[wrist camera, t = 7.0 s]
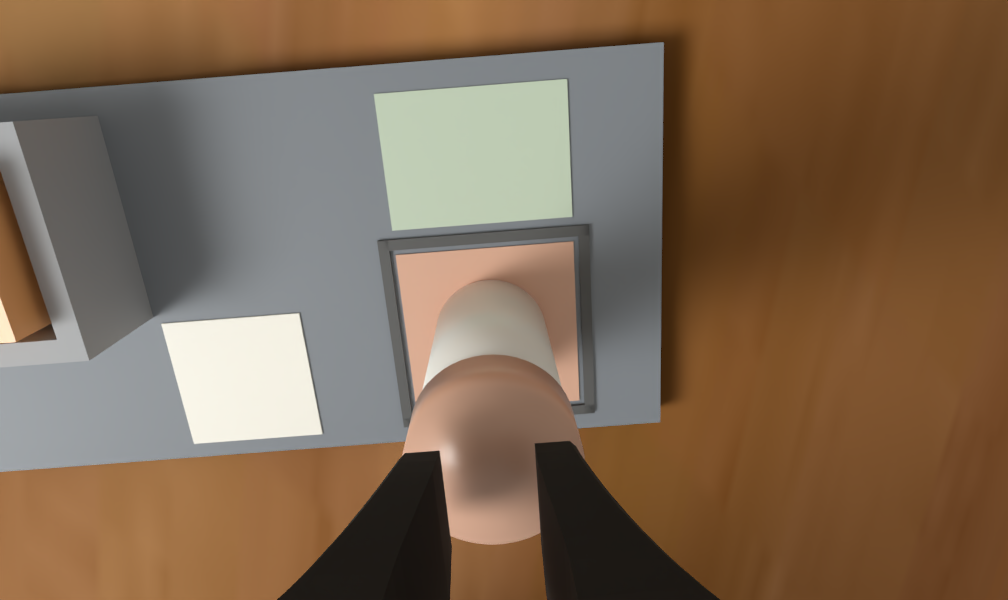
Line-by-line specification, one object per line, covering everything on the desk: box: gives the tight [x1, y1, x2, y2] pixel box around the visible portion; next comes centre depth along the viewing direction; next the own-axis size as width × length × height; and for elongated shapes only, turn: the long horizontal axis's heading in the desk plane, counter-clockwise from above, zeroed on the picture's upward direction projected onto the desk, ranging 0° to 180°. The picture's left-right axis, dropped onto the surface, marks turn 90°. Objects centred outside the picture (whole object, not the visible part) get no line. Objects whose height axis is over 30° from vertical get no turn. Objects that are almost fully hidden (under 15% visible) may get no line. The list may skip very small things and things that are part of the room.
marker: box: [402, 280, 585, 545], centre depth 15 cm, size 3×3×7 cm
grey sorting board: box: [0, 42, 664, 472], centre depth 16 cm, size 11×21×4 cm, turn 94°
